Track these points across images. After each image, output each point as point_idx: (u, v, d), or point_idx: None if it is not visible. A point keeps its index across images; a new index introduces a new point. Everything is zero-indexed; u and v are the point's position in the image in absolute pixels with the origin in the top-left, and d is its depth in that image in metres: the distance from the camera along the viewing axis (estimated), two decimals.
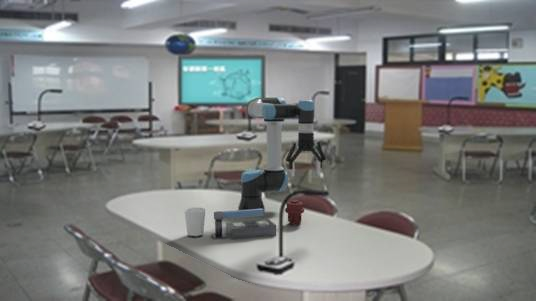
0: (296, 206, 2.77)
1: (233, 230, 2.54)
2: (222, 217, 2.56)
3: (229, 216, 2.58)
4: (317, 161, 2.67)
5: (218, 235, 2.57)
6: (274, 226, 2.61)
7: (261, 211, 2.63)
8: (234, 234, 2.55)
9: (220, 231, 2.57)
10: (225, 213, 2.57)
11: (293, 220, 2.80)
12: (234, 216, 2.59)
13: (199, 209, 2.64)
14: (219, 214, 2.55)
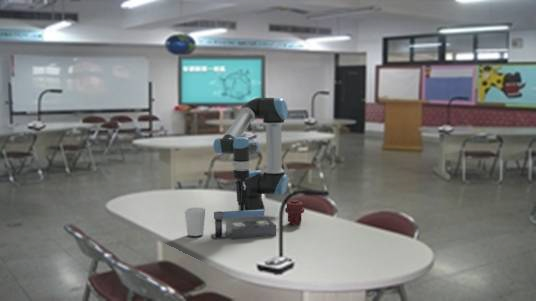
0: (296, 206, 2.77)
1: (233, 230, 2.54)
2: (222, 217, 2.56)
3: (229, 216, 2.57)
4: None
5: (218, 235, 2.57)
6: (274, 226, 2.61)
7: (262, 212, 2.61)
8: (234, 234, 2.55)
9: (220, 231, 2.57)
10: (225, 213, 2.57)
11: (293, 220, 2.80)
12: (234, 216, 2.58)
13: (199, 209, 2.64)
14: (219, 214, 2.55)
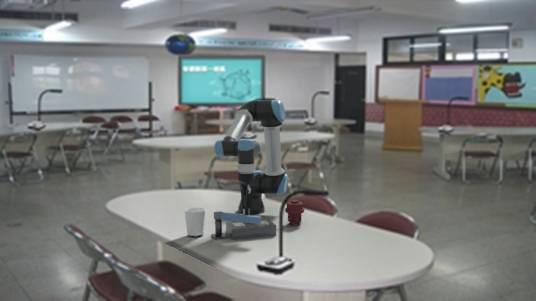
0: (296, 206, 2.77)
1: (233, 230, 2.54)
2: (219, 218, 2.55)
3: (226, 218, 2.54)
4: None
5: (218, 235, 2.57)
6: (274, 226, 2.61)
7: (257, 219, 2.47)
8: (234, 234, 2.55)
9: (220, 231, 2.57)
10: (223, 214, 2.55)
11: (293, 220, 2.80)
12: (231, 219, 2.53)
13: (199, 209, 2.64)
14: (216, 214, 2.55)
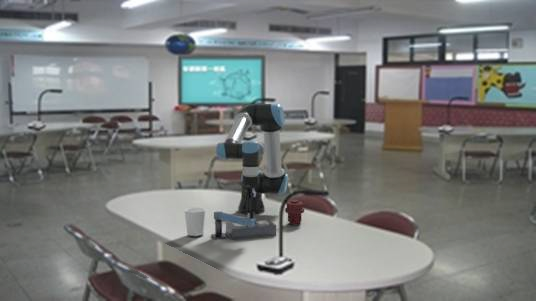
0: (296, 206, 2.77)
1: (233, 230, 2.54)
2: (218, 218, 2.55)
3: (224, 218, 2.53)
4: None
5: (218, 235, 2.57)
6: (274, 226, 2.61)
7: (250, 221, 2.43)
8: (234, 234, 2.55)
9: (220, 231, 2.57)
10: (221, 214, 2.54)
11: (293, 220, 2.80)
12: (228, 220, 2.52)
13: (199, 209, 2.64)
14: (215, 214, 2.56)
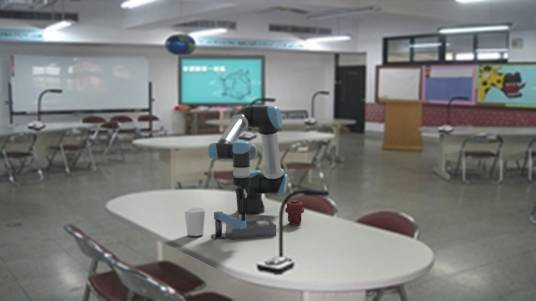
0: (296, 206, 2.77)
1: (233, 230, 2.54)
2: (217, 218, 2.55)
3: (221, 219, 2.53)
4: None
5: (218, 235, 2.57)
6: (274, 226, 2.61)
7: (239, 223, 2.39)
8: (234, 234, 2.55)
9: (220, 231, 2.57)
10: (219, 215, 2.54)
11: (293, 220, 2.80)
12: (224, 220, 2.51)
13: (199, 209, 2.64)
14: (214, 214, 2.56)
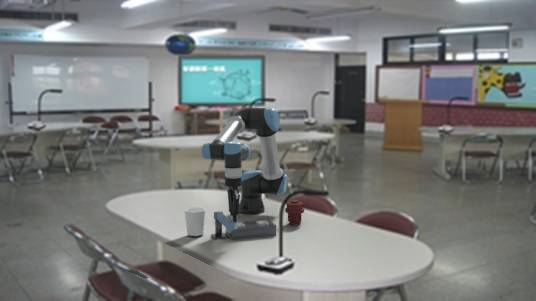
0: (296, 206, 2.77)
1: (233, 230, 2.54)
2: (216, 218, 2.55)
3: (218, 219, 2.52)
4: None
5: (218, 235, 2.57)
6: (274, 226, 2.61)
7: (228, 225, 2.37)
8: (234, 234, 2.55)
9: (220, 231, 2.57)
10: (217, 215, 2.54)
11: (293, 220, 2.80)
12: (220, 221, 2.50)
13: (199, 209, 2.64)
14: (214, 213, 2.57)
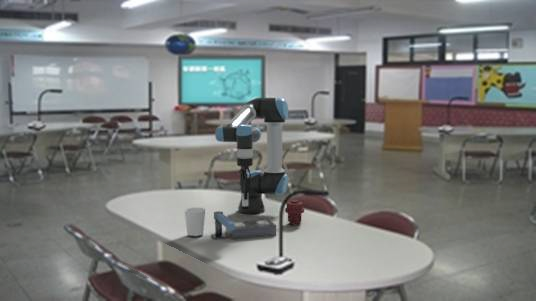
0: (296, 206, 2.77)
1: (233, 230, 2.54)
2: (216, 218, 2.55)
3: (218, 219, 2.52)
4: None
5: (218, 235, 2.57)
6: (274, 226, 2.61)
7: (228, 225, 2.37)
8: (234, 234, 2.55)
9: (220, 231, 2.57)
10: (217, 215, 2.54)
11: (293, 220, 2.80)
12: (220, 221, 2.50)
13: (199, 209, 2.64)
14: (214, 213, 2.57)
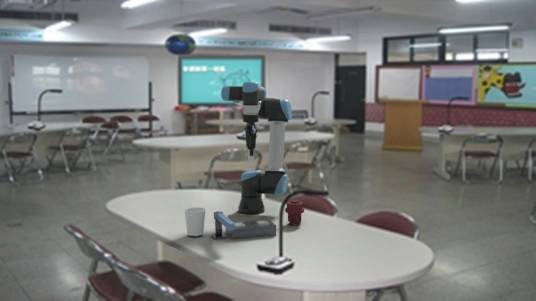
0: (296, 206, 2.77)
1: (233, 230, 2.54)
2: (216, 218, 2.55)
3: (218, 219, 2.52)
4: None
5: (218, 235, 2.57)
6: (274, 226, 2.61)
7: (228, 225, 2.37)
8: (234, 234, 2.55)
9: (220, 231, 2.57)
10: (217, 215, 2.54)
11: (293, 220, 2.80)
12: (220, 221, 2.50)
13: (199, 209, 2.64)
14: (214, 213, 2.57)
